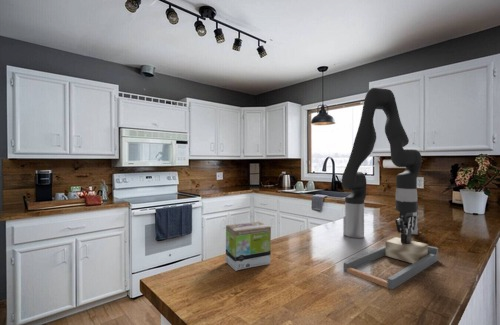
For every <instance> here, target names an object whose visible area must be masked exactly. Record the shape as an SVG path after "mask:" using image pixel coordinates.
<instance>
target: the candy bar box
mask: <svg viewBox="0 0 500 325" xmlns="http://www.w3.org/2000/svg"><path fill="white" fill-rule="evenodd" d="M418 207H419V204H418V203H417V212H415V213H413V216H416V217H417V218H416V223H415V229H414V230H413V232H412V235H415V236H417V235H419V208H418Z"/></svg>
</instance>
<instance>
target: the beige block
mask: <svg viewBox="0 0 500 325" xmlns="http://www.w3.org/2000/svg"><path fill="white" fill-rule="evenodd" d="M385 245H386V255H385V257H389V258H392V259H396V260H400V261H402V262H406V263H409V264H411V265H412V264H413V263H415V262H417V261H419V260H420V259H422V258H424V257H426V256H427V255H428V246H429V244H428V243H424V242H420V241H419V242H418V241H415V240H412V241H411V228H409V229H408V243H407V244H404V243H401V237H396V236H394V237H391V238H390V239H388V240H385Z"/></svg>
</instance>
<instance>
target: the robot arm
mask: <svg viewBox="0 0 500 325" xmlns="http://www.w3.org/2000/svg"><path fill="white" fill-rule="evenodd" d="M397 105H398V104H397V101H396V97H395V94H394V93H393V91H392V90H390V89H388V88H381V87H372V88H369V90H368V91H367V92H366V94H365V97H364V101H363V106H362V111H361V116H360V119H359V120H360V122H359V125H358V128H357V132H356V134H355V138H354V140H353V141H354V142H353V144H352V149H351V153H350V155H349V159H348V161H347V164H346V167H345V169H344V171H343V174H342V176H341V186H342V188H343V190H347V191H351V192H350V193H349V194H348V195H346V196H345V198H344V216H343V217H342V218H343V220H342V221H343V226H342V227H343V229H342V230H343V233H342V234H343V235H344V236H346V237H348V238H352V239H361V238H364V237H365V199H366V197H367V177H366V175H365V173H364V172H362V171H359V168H360V167H361V166H362V164H363V163H364V162H365V160H366V159H367V158H369V156H371V154H372V153H373V150H374V147H375V145H376V141H377V132H376V129H375V128H376V127H375V125H374V117H375V112H376V110H382V111H383V112H384V114H385V117H386V121H385V126H384V133H385V137H386V139H387V141H388V143H389V146H390V147H389V149H390V158H391V162H392V163H393V165H394V166H396V167H398V168H404V171H403V172H401V173H398V174H397V175H396V181H395V182H396V183H395V186H396V187H395V188H396V190H395V210H396V211H397V212H398V214H399V215H398V219H397V218H396V219H395V226H396V230H397V233H399V234H400V238H401V243H404V244H407V243H408V229H409V228H411V241H413V239H412V235H413V234H412V232H413V230H414V229H415V223H416V218H417V217H416V216H413V213H415V212H417V204H418V189H417V188H418V186H417V185H418V184H417V182H418V175H419V173H420V169H421V167H422V164H423V163H422V162H423V156H422V155H421V152H420V151H419V150H417V149H404V148H405V147H406V146H407V145H408V144H410V143H409V142H410V139H409V137H408V134H407V133H406V130H405V129H404V126H403V124H402V121H401V117H400V114H399V110H398V106H397Z"/></svg>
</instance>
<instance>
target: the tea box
mask: <svg viewBox="0 0 500 325" xmlns="http://www.w3.org/2000/svg"><path fill="white" fill-rule="evenodd" d="M271 236H272V227H271V226H270V225H268V224H265V223H263V222H261V221H254V222H253V221H252V222H245V223H234V224H227V225H225V263H226V264H227V265H229V266H230V267H231V268H232V269H233V270H234V271H235V272H236V271H240V270H244V269H250V268H255V267H256V268H257V267H259V266H260V267H261V266H267V265H270V264H271V255H272V254H271V252H272V251H271V249H272V246H271V245H272V244H271V242H272V239H271V238H272V237H271Z"/></svg>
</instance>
